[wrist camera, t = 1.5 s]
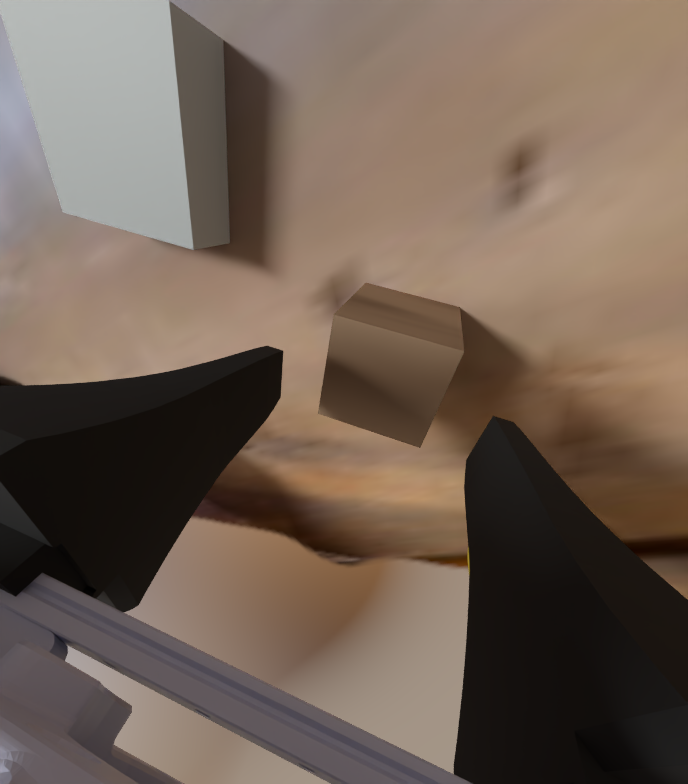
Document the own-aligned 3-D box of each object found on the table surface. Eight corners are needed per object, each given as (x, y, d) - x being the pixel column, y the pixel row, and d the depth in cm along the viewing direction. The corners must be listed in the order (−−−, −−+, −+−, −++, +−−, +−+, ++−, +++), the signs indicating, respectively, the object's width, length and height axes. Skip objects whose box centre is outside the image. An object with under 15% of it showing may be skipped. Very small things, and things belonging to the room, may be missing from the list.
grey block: (233, 242, 15) (193, 249, 13) (120, 210, 16) (62, 212, 14) (228, 43, 11) (169, 0, 9) (78, 16, 12) (-13, -29, 10)
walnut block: (427, 386, 16) (419, 447, 12) (349, 362, 17) (318, 413, 13) (459, 307, 14) (464, 351, 10) (366, 282, 14) (333, 314, 10)
